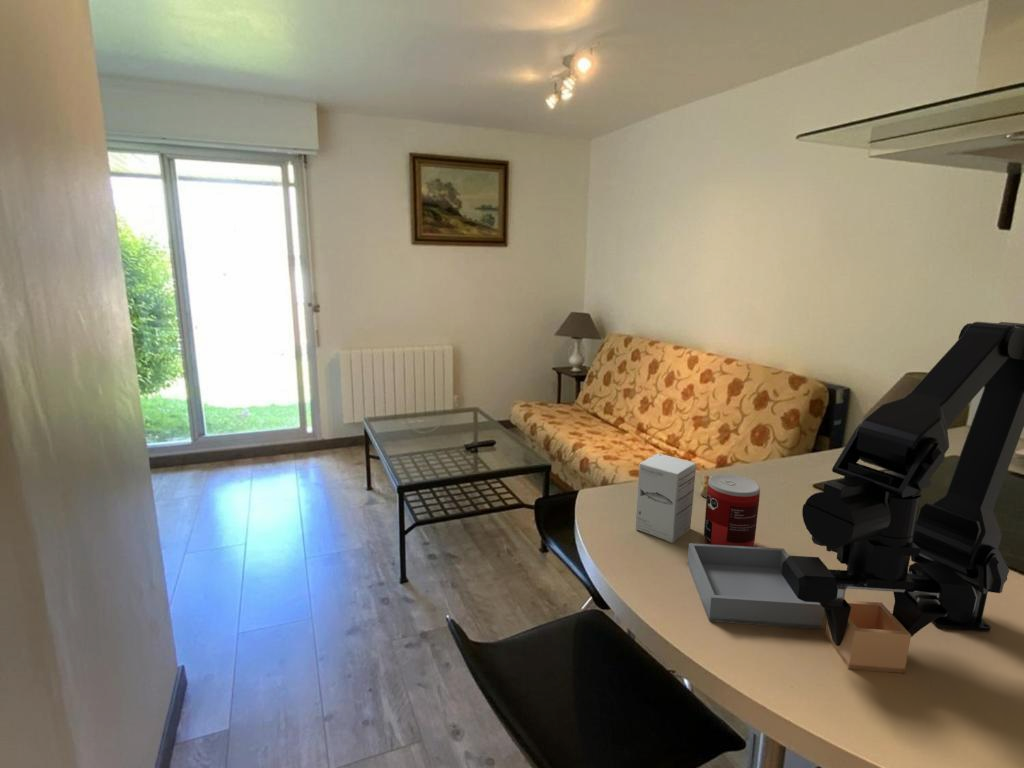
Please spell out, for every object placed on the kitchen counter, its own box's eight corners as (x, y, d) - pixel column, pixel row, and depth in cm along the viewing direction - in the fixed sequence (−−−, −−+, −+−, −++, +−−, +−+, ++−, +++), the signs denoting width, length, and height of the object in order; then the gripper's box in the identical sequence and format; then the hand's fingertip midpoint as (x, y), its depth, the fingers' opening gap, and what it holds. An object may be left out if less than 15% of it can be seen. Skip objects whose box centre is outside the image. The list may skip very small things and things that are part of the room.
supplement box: (633, 530, 95) (637, 462, 92) (654, 516, 100) (658, 451, 98) (672, 544, 90) (677, 473, 87) (692, 529, 95) (697, 461, 93)
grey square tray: (781, 569, 83) (783, 548, 82) (821, 629, 69) (825, 605, 68) (687, 563, 84) (689, 543, 84) (709, 621, 71) (711, 597, 70)
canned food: (712, 528, 96) (717, 470, 93) (759, 543, 91) (766, 481, 88) (695, 545, 90) (701, 483, 87) (745, 562, 85) (752, 497, 83)
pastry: (747, 493, 111) (749, 475, 110) (750, 506, 105) (752, 488, 104) (699, 486, 114) (701, 470, 113) (699, 500, 108) (700, 482, 107)
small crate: (875, 638, 68) (881, 602, 67) (904, 673, 62) (911, 635, 61) (825, 634, 68) (830, 599, 67) (848, 668, 62) (854, 631, 61)
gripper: (926, 500, 68) (907, 609, 72) (772, 493, 70) (760, 599, 74) (993, 544, 57) (966, 670, 61) (808, 534, 59) (792, 657, 63)
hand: (863, 645), depth 65 cm, fingers closed on small crate, 6 cm apart
